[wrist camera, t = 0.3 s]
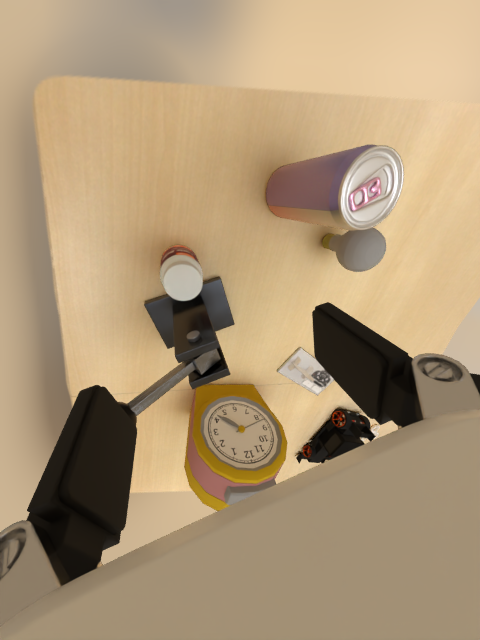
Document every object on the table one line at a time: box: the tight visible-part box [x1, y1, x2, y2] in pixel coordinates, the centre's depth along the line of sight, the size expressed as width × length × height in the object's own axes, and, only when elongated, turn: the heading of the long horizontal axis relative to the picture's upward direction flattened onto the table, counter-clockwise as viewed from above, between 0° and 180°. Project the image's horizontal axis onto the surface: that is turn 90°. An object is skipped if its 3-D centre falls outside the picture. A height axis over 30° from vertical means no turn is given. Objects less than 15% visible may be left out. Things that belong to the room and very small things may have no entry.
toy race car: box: [297, 410, 376, 463], centre depth 60 cm, size 10×20×7 cm, turn 148°
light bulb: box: [322, 228, 386, 272], centre depth 30 cm, size 6×5×10 cm
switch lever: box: [118, 349, 220, 425], centre depth 22 cm, size 13×4×4 cm, turn 104°
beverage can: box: [266, 145, 404, 231], centre depth 23 cm, size 6×6×15 cm
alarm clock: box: [184, 385, 287, 511], centre depth 37 cm, size 15×8×18 cm, turn 74°
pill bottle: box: [160, 245, 203, 301], centre depth 27 cm, size 5×5×8 cm
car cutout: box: [277, 347, 334, 396], centre depth 46 cm, size 15×7×4 cm, turn 47°
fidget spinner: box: [360, 425, 379, 441], centre depth 70 cm, size 7×6×1 cm
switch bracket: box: [144, 277, 234, 389], centre depth 29 cm, size 11×8×13 cm
